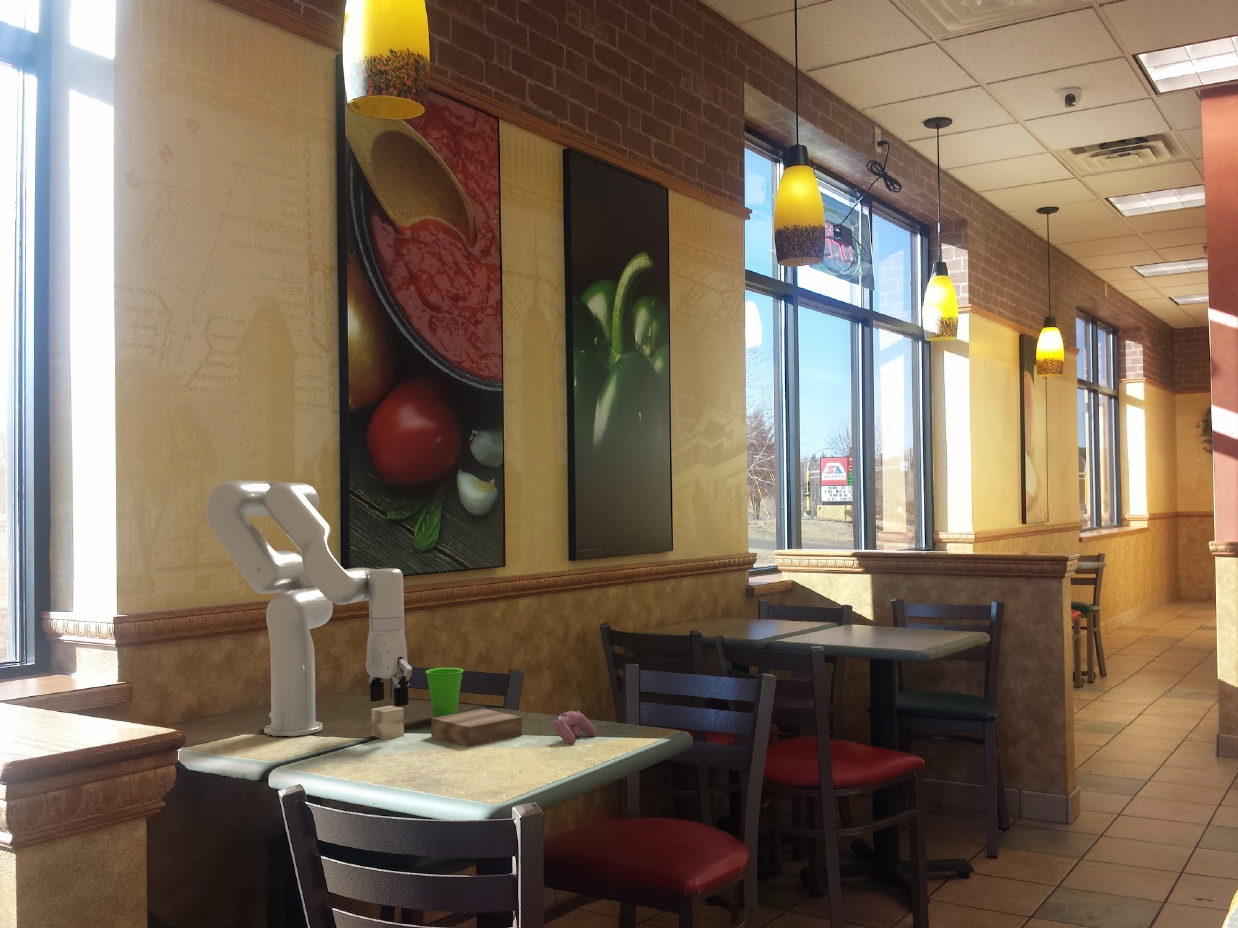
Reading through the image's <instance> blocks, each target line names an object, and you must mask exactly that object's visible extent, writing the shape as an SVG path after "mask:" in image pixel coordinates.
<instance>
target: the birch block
mask: <svg viewBox="0 0 1238 928" xmlns="http://www.w3.org/2000/svg"><path fill="white" fill-rule="evenodd" d="M404 710H405V709H404V707H400V706H398V707H396V706H395V705H386V706H380V707H376V708H375V707H374V708H371V737H373V736H375V737H374V738H378V739H380V738H381V740H384V739H385V740H388V738H390V739H394V738H399V737H398V736H400V737H405V728H404V727H405V726H404V725H405V721H404V719H405V718H404V716H405V715H404V713H405V712H404Z"/></svg>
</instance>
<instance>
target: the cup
mask: <svg viewBox="0 0 1238 928" xmlns="http://www.w3.org/2000/svg"><path fill="white" fill-rule="evenodd" d="M463 673H464V669H462V668H458V667H438V668H437V667H436V668H431V669H427V670H425V671H424V674H426V677H427V683H428V688H429V694H430V700H431V702H430V703H431V707H432V714H433V718H435V717H440V716H446V715H451V714H456V713H457V711H458V705H459V699H460V698H459V697H460V691H461V684H462V678H463Z"/></svg>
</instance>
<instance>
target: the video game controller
mask: <svg viewBox="0 0 1238 928" xmlns="http://www.w3.org/2000/svg"><path fill="white" fill-rule="evenodd" d="M552 727H553V730H554V732H555V733H556V734H557V735H558V736H559V737H560V738H561V739H562V740H563V741H564V742H565V743H567V744H569V745H574V744H575V743H576V741H577V740H576V738H579V737H580V736H581V735H582V732H584V733H585V734H586V735H588V736H590V737H596V735H597V729H596V727H595V726H594V725H593V723H592V722H591V721H589V719H588V718H587V717H586V715H584V714H583V713H581V712H580V711H579V710H577V711H573V710H570V711H566V712H564V713H561V714H560V715H558V716H556V717H555V719H554V720H553V721H552ZM569 727H570V728H569Z"/></svg>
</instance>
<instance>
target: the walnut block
mask: <svg viewBox="0 0 1238 928" xmlns="http://www.w3.org/2000/svg"><path fill="white" fill-rule="evenodd" d="M430 719H431V720H430V723H431V724H430V725H431V737H432V738H435V739H439V740H443V741H446V742H451V743H455V744H459V745H462V746H467V747H470V748H471V747H475V746H478V745H479V746H480V745H483V744H487V743H492V742H493V743H494V742H498V741H503V740H507V739H511V738H516V737H520V736H523V717H522V716H520V715H515V714H510V713H505V712H501V711H500V712H499V711H496V710H490V709H486V708H478V709H473V710H469V711H464V712H463V711H462V712H458V713H456V714H451V715H446V716H440V717H431V718H430Z"/></svg>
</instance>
